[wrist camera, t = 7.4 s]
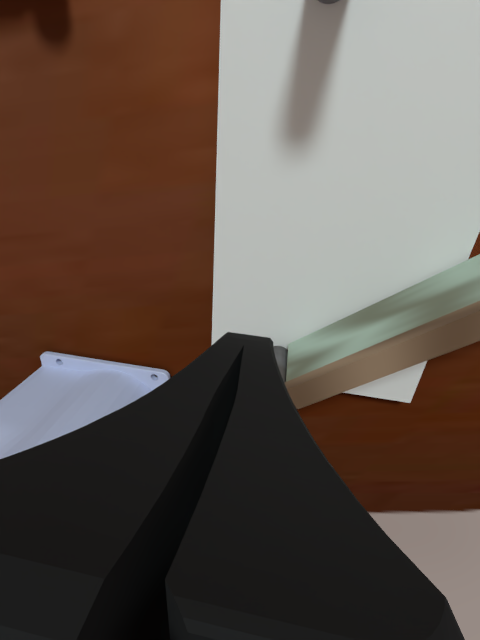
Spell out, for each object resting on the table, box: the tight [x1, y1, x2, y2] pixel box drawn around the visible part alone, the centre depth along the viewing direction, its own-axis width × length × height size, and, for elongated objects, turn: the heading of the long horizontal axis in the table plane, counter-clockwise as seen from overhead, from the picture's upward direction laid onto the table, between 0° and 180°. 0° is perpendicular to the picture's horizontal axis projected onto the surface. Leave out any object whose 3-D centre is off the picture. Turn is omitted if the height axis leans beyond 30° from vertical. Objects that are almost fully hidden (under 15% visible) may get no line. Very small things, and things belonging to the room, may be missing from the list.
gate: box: [273, 254, 480, 409], centre depth 14 cm, size 15×2×4 cm, turn 124°
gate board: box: [212, 0, 480, 403], centre depth 13 cm, size 12×20×6 cm, turn 176°
